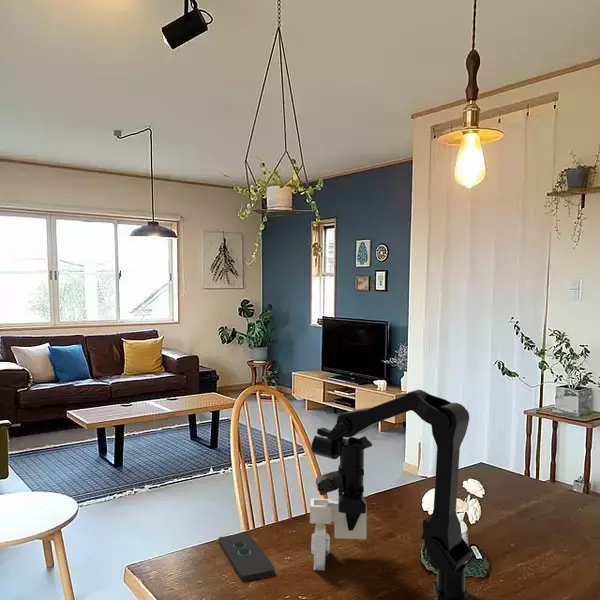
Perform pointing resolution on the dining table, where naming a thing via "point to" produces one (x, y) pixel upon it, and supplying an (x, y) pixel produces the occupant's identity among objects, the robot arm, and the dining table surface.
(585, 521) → the dining table surface
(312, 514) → the square loop paddle
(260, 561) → the smart home device
